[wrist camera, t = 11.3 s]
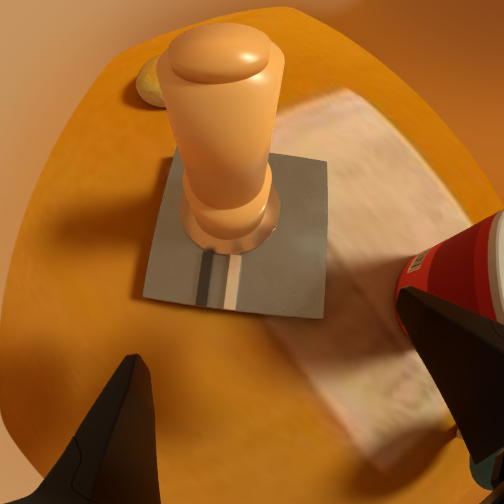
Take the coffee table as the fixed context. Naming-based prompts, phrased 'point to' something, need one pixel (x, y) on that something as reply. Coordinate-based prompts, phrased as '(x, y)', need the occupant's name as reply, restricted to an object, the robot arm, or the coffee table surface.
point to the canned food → (463, 269)
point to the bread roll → (150, 84)
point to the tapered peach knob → (223, 121)
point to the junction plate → (247, 248)
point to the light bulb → (482, 468)
